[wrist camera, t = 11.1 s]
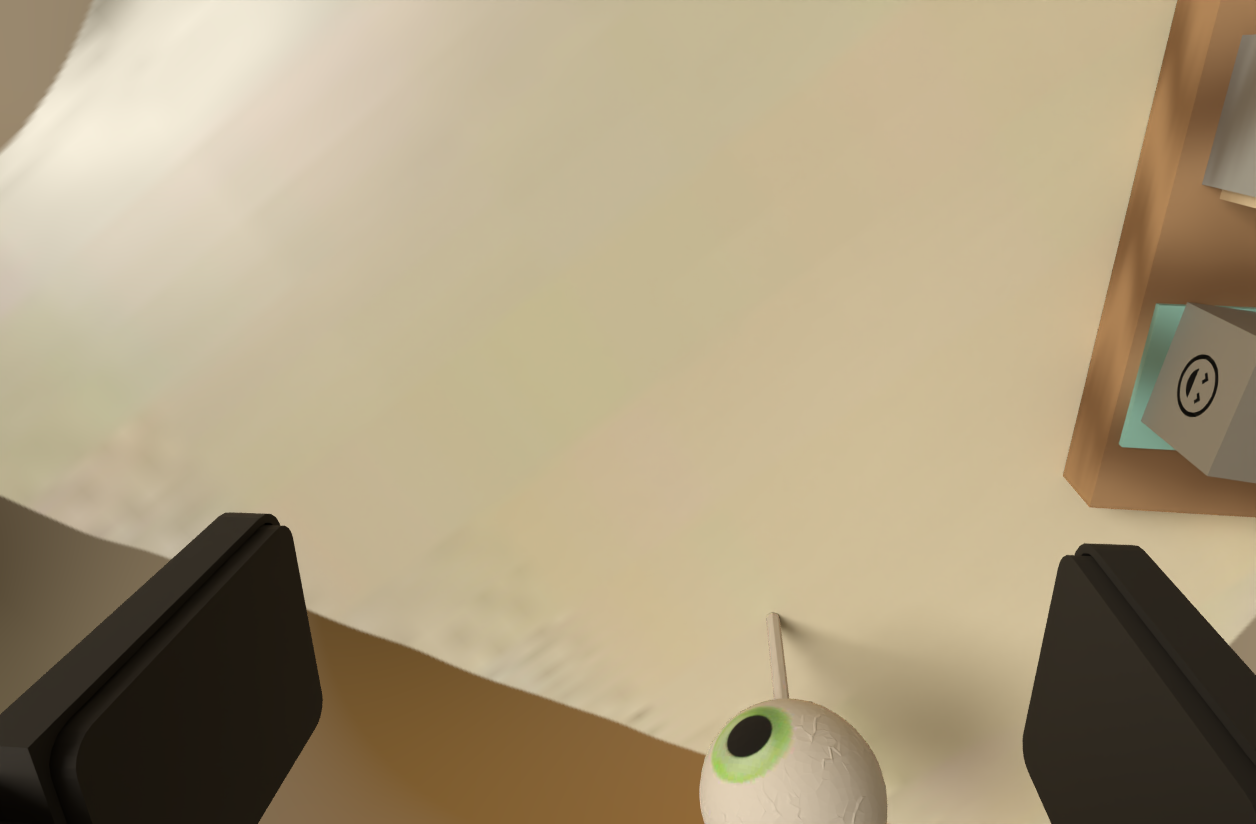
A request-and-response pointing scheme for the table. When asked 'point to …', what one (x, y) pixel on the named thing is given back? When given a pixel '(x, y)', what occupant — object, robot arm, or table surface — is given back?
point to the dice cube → (1209, 392)
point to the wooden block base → (1175, 264)
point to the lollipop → (790, 763)
